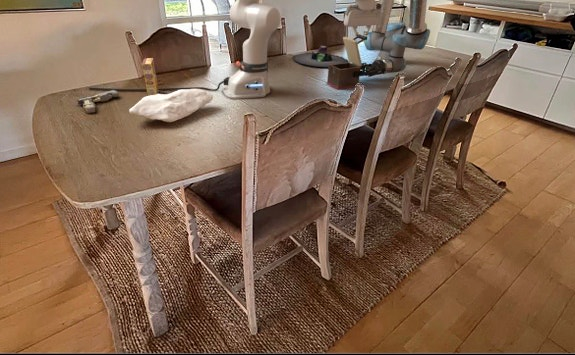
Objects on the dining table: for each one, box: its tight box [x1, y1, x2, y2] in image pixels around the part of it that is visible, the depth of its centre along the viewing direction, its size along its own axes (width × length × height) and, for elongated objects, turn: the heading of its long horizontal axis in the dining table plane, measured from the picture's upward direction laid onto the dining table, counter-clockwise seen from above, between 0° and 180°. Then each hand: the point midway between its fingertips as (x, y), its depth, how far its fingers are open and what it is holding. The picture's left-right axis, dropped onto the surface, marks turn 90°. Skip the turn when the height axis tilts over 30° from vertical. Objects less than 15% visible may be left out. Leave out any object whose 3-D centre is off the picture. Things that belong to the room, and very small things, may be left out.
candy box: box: [141, 57, 160, 96], centre depth 163 cm, size 9×4×15 cm, turn 13°
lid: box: [342, 33, 367, 66], centre depth 182 cm, size 13×10×9 cm
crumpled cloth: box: [129, 89, 214, 123], centre depth 147 cm, size 24×35×9 cm
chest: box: [326, 61, 361, 90], centre depth 186 cm, size 13×10×10 cm
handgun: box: [76, 90, 120, 114], centre depth 155 cm, size 3×18×15 cm
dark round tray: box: [291, 45, 349, 68], centre depth 225 cm, size 35×35×9 cm
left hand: (360, 35), depth 179 cm, fingers open, 5 cm apart
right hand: (347, 71), depth 186 cm, fingers closed on chest, 10 cm apart
